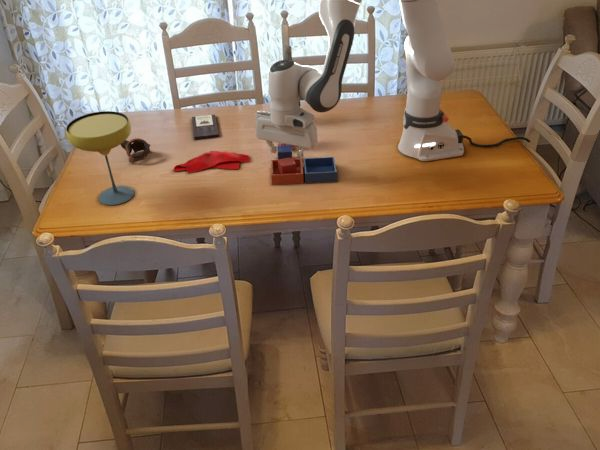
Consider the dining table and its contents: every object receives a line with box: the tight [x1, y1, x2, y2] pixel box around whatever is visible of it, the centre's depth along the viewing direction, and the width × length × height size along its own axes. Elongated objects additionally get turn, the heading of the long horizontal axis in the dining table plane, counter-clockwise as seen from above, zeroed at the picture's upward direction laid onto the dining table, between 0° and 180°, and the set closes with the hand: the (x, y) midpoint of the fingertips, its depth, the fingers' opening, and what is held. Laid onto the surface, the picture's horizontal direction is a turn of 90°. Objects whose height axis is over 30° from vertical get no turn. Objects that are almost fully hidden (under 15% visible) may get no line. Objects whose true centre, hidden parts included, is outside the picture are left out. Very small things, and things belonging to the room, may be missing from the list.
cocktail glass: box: [65, 110, 135, 206], centre depth 171 cm, size 18×18×25 cm
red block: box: [277, 156, 296, 174], centre depth 183 cm, size 5×5×5 cm
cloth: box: [172, 150, 251, 174], centre depth 193 cm, size 26×14×2 cm, turn 94°
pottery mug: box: [119, 137, 152, 165], centre depth 196 cm, size 12×10×8 cm
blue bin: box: [302, 156, 338, 184], centre depth 184 cm, size 10×10×4 cm
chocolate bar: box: [191, 114, 219, 140], centre depth 215 cm, size 9×1×18 cm
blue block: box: [276, 145, 293, 160], centre depth 191 cm, size 5×5×5 cm
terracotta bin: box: [270, 158, 305, 186], centre depth 184 cm, size 10×10×4 cm
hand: (286, 154), depth 179 cm, fingers open, 8 cm apart
